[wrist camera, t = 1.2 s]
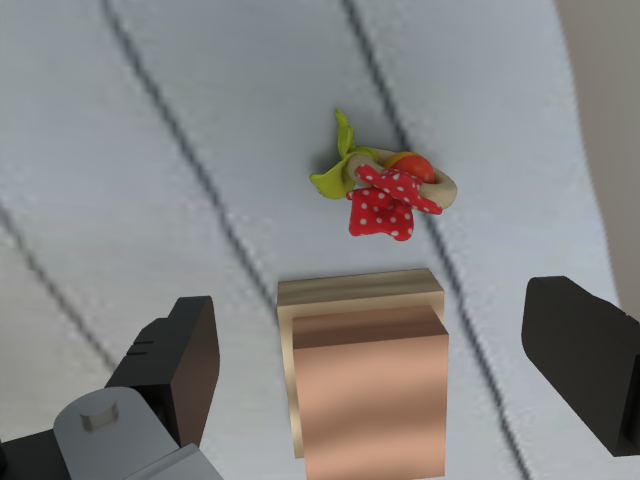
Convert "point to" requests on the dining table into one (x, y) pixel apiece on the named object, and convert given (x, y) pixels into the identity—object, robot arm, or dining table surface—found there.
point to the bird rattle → (383, 186)
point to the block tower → (366, 374)
